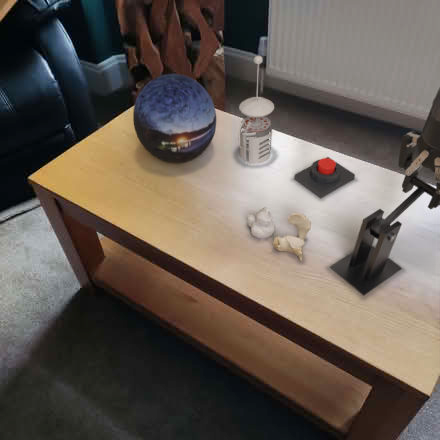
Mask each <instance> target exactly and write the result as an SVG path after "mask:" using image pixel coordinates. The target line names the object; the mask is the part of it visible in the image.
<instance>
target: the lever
mask: <svg viewBox="0 0 440 440" xmlns="http://www.w3.org/2000/svg"><path fill="white" fill-rule="evenodd" d="M411 184H412V185H414V186H413V187H416V189H415V190H414V191H412V193H411V194H410V195H408V197H407V198H405V199H404V200H403V201H402V202H401V203H400V204H399V205H398V206H396V208H395V209H393V211H392V212H391V213H389V214H388V215H387V216H386V217H385V218H383V216H382V217H380V218H379V219H378V220H377V221H376V222H375V223H374V224H373V225H372V226H371V227H370V234H371V235H372V236H374V237H375V239H376V240H378V238H379V236H380V233H381V231H383V230H384V229H386V228H388V227H389V226H391V225H392V224H393V223H394V222H395V221H396V220H397V219H398V218H399V217H400V216H401V215H402V214H403V213H404V212H405V211H406V210H407V209H409V208H410V206H411V205H413V204H414V203H415V202H416V201H417V200H418V199H419V198H420V197H421V196H422V195H423V194H424V193H425V194H427V195H428V196H430V197H432V196H433V194H434V192H435V191H436V187H434V186H432V185H431V184H430V183H428V182H426V181H424V180H423V179H421V178H420V177H419V176H418V177H414V178H413V179H412V180H411Z"/></svg>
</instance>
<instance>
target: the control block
mask: <svg viewBox="0 0 440 440" xmlns="http://www.w3.org/2000/svg"><path fill="white" fill-rule="evenodd" d="M326 158H329V159H332V158H331V157H329V156H327V157H326ZM319 160H320V159H318V160H317V159H316V160H315V161H314V162H312V164H311V165H310V166H308V167H306V168H304V169H303V170H301V171H298V172H297V173H295V174H294V178H293V179H294V181H295V182H297V183H299V184H300V185H301V186H303V187H304V188H305V189H306V190H308V191H310V192H311V194H313V195H315V196H316V197H317V198H319V199H320V200H321V199H323V198H325V197H327V196H328V195H330V194H331V193H333V192H335V191H337V190H338V189H341V188H342V187H343V186H345V185H348V184H349V183H350V182H353V181H354V180H355V177H356V174H355V173H354V172H352V171H350V170H349V169H347V168H346V167H345V166H343V165H342V164H339V162H337V161H335V163H336V166H335V171H334V172H333V173H332V174H327V175H326V174H321V173H320V172H318V170H317V167H318V162H319Z"/></svg>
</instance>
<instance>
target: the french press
mask: <svg viewBox="0 0 440 440" xmlns="http://www.w3.org/2000/svg"><path fill="white" fill-rule="evenodd" d="M253 63H254V64H257V71H256V72H257V73H256V74H257V75H256V78H257V79H256V96H252V97H249V98H246V99H245V100H243V101H242V102H241V103H240V104H239V105H238V106H239V111H240V112H241V114H242V115H245V116H246V117H244V118H243V119H242V120H241V121H240V122H241V124H240V126H239V129H238V134H237V143H238V146H239V156H240V158H241V160H242V161H243V162H246V163H248V164H250V165H251V164H252V165H259V164H263V163H265V162H267V161H268V160H269V159H270V158H271V154H272V153H271V152H272V151H271V150H272V137H273V126H272V121H271V119H270V118H269V117H267V116H268V115H270V114H271V113H272V112H273V111H274V109H275V104H274V103H273V101H271V100H269V99H268V98H265V97H263V96H259V95H258V94H259V69H260V68H259V67H260V66H259V65H260V64H262V63H263V57H262V56H261V55H256V56H254V58H253ZM243 129H244V130H243ZM254 133H255V134H254ZM247 134H248V135H247Z"/></svg>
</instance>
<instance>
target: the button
mask: <svg viewBox="0 0 440 440" xmlns="http://www.w3.org/2000/svg"><path fill="white" fill-rule="evenodd" d="M329 158H330V157H329ZM329 158H327V157H324V158H321V159H318V160H319V162H318V167H317V170H318V172H320V173H321V174H326V175H327V174H332V173H333V172H334V171H335V166H336V163H335V162H336V161H335V160H334V159H332V158H331V159H329Z"/></svg>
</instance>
